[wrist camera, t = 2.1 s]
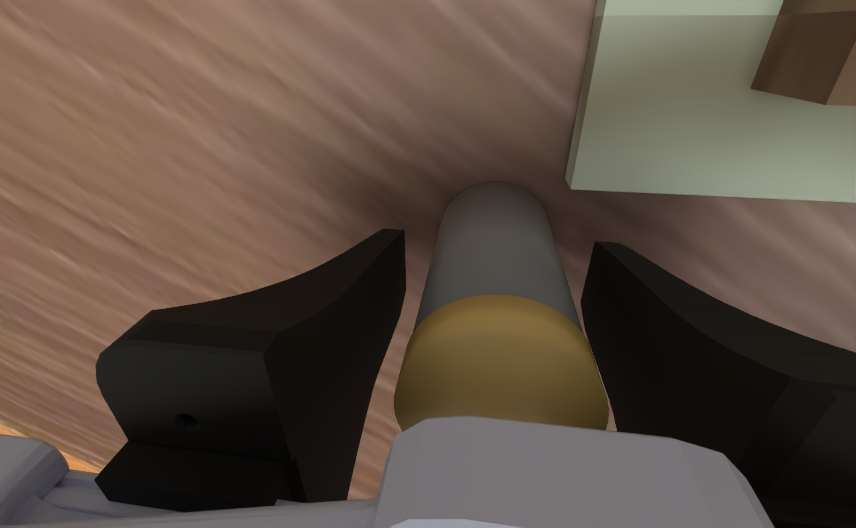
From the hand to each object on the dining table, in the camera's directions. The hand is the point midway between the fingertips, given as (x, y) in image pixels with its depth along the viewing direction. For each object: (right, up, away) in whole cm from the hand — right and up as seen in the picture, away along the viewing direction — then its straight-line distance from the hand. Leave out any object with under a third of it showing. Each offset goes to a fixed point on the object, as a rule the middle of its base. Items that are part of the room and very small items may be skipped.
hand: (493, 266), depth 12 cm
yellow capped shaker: (0, +1, +2) cm, 2 cm away
